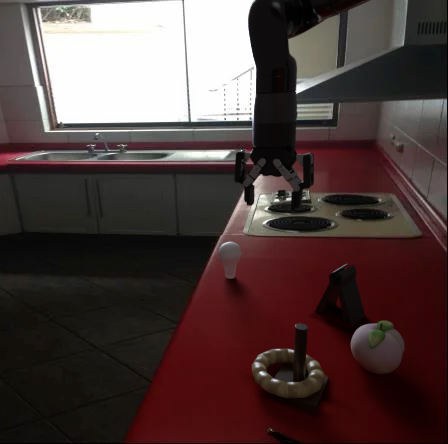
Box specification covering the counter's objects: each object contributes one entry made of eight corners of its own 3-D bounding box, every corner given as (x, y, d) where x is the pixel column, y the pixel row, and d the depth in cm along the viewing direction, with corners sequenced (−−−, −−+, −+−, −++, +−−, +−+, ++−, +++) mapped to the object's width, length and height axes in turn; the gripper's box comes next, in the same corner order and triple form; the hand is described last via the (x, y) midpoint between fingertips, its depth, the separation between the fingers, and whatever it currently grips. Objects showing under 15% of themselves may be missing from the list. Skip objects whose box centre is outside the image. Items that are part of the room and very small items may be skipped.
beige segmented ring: (330, 368, 74) (330, 356, 73) (314, 410, 65) (314, 397, 64) (265, 351, 80) (265, 340, 80) (242, 387, 71) (242, 375, 70)
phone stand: (313, 315, 94) (316, 266, 90) (327, 305, 97) (330, 258, 94) (352, 331, 87) (357, 279, 83) (366, 320, 91) (371, 270, 87)
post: (328, 383, 73) (333, 321, 69) (315, 413, 66) (320, 346, 63) (282, 369, 77) (285, 309, 73) (267, 395, 71) (269, 332, 67)
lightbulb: (217, 284, 111) (216, 246, 107) (220, 274, 116) (220, 237, 113) (240, 286, 109) (240, 247, 106) (243, 276, 115) (243, 239, 111)
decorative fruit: (354, 350, 81) (359, 305, 78) (402, 364, 76) (409, 316, 73) (343, 378, 74) (347, 329, 71) (395, 395, 69) (402, 343, 66)
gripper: (228, 121, 75) (228, 208, 80) (309, 121, 67) (304, 217, 72) (244, 117, 80) (244, 198, 85) (321, 116, 73) (316, 206, 78)
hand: (271, 207), depth 79 cm, fingers open, 8 cm apart
